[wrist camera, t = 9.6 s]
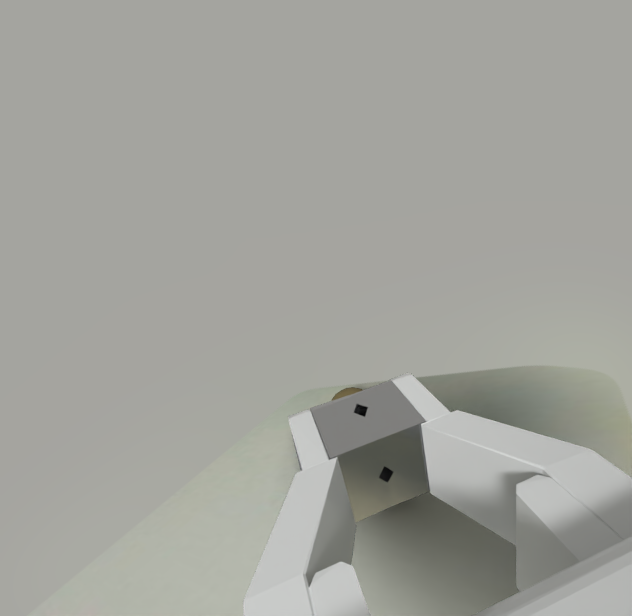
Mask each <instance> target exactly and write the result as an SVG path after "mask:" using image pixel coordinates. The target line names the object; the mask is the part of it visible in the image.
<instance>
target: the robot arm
mask: <svg viewBox="0 0 632 616" xmlns="http://www.w3.org/2000/svg"><path fill="white" fill-rule="evenodd" d="M288 420H289V424H290V428H291V431H292V435H293V438H294V442H295V446H296V449H297V453H298V456H299V460H300V463H301V467H302V471H300V472H297V473H296V474H295V476H294V478H293V481H292V483H291V486H290V488H289V491H288V493H287V496H286V498H285V500H284V503H283V505H282V508H281V510H280V513H279V515H278V517H277V520H276V522H275V525H274V527H273V530H272V532H271V535H270V537H269V539H268V542H267V544H266V547H265V549H264V552H263V554H262V557H261V559H260V561H259V564H258V566H257V569H256V571H255V574H254V576H253V579H252V581H251V583H250V586H249V588H248V591H247V593H246V596H245V598H244V600H243V610H244V616H371V615H370V612H369V609H368V607H367V604H366V601H365V598H364V595H363V592H362V590H361V587H360V584H359V581H358V578H357V575H356V573H355V570H354V567H353V566H352V565H351V562H352V555H353V548H354V540H355V533H356V523H357V522H359V521H361V520H363V519H365V518H368V517H370V516H372V515H374V514H376V513H378V512H381V511H383V510H385V509H387V508H389V507H391V506H394V505H396V504H399V503H402V502H404V501H407V500H409V499H412V498H414V497H417V496H420V495H422V494H425V493H427V492H430V494H432V495H434V496H435V497H437V498H438V499H440V500H442V501H443V502H445V503H447V504H448V505H450V506H452V507H453V508H455V509H456V510H458V511H460V512H461V513H463V514H465V515H466V516H468V517H470V518H471V519H473V520H474V521H476V522H478V523H479V524H481V525H483V526H484V527H486V528H487V529H489V530H491V531H492V532H494V533H496V534H497V535H499V536H501V537H502V538H504V539H505V540H507V541H509V542H510V543H512V544H514V545H515V546H516V587H517V588H518V590H519V591H520V592H518V593H516V594H514V595H512V596H510V597H508V598H506V599H504V600H502V601H500V602H498V603H496V604H494V605H492V606H490V607H488V608H486V609H484V610H482V611H480V612H478V613H476V614H474V615H472V616H632V478H631V477H630V476H629V475H627V474H626V473H624V472H623V471H621V470H620V469H619V468H617V467H616V466H614V465H613V464H612V463H610V462H609V461H607V460H606V459H605V458H603V457H602V456H600V455H599V454H598V453H596V452H595V451H593V450H592V449H589V448H586V447H582V446H579V445H575V444H572V443H569V442H565V441H562V440H558V439H555V438H551V437H548V436H545V435H541V434H538V433H534V432H531V431H527V430H524V429H521V428H517V427H514V426H510V425H507V424H503V423H500V422H497V421H493V420H490V419H486V418H483V417H479V416H476V415H473V414H469V413H466V412H462V411H459V410H456V411H453V412H450V411H449V410H448V409H447V408H446V407H445V406H444V405H443V404H442V403H441V402H440V401H439V400H438V399H437V398H436V397H435V396H434V395H433V394H432V393H431V392H430V391H429V390H428V389H427V388H426V387H424V386H423V385H422V384H421V383H420V382H419V381H418V380H417V379H416V378H415V377H414V376H413V375H412V374H410V373H405V374H403V375H400V376H398V377H395V378H393V379H390V380H388V381H387V382H384V383H381V384H379V385H376V386H373V387H370V388H368V389H365V390H362V391H360V392H357V393H354V394H351V395H348V396H345V397H342V398H339V399H336V400H333V401H330V402H327V403H324V404H321V405H318V406H315V407H312V408H310V410H309V409H307V410H304V411H301V412H298V413H296V414H293V415H290V416H288Z"/></svg>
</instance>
